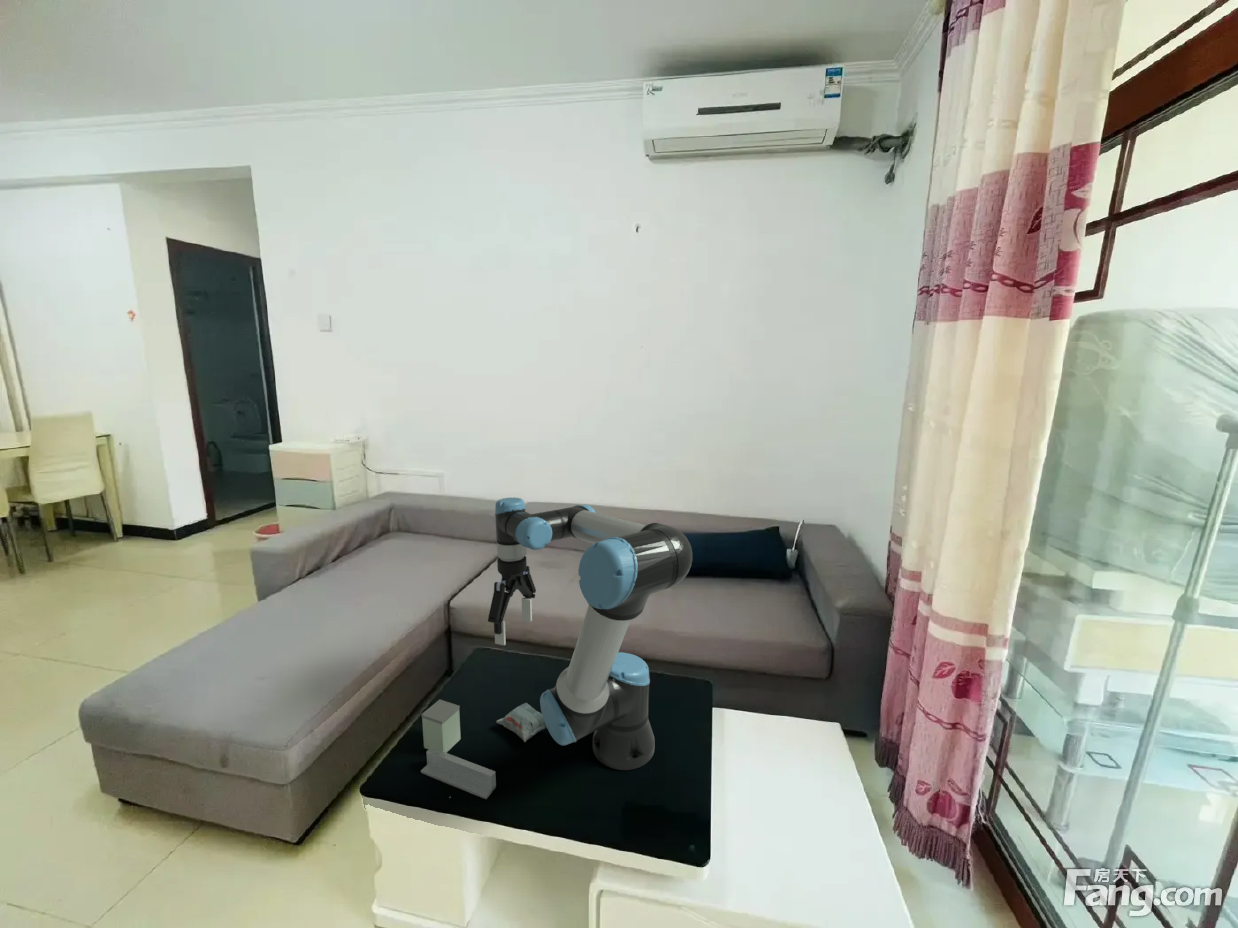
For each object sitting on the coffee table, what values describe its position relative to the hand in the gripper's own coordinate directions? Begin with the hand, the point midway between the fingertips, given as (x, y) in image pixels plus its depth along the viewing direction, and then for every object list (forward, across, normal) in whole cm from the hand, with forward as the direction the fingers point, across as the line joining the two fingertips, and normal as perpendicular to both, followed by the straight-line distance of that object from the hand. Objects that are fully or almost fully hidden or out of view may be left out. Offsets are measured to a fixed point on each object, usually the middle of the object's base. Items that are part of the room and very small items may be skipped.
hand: (514, 631), depth 138 cm
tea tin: (+21, +21, -8) cm, 30 cm away
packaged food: (+22, +10, +4) cm, 25 cm away
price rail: (+21, +28, +2) cm, 35 cm away
